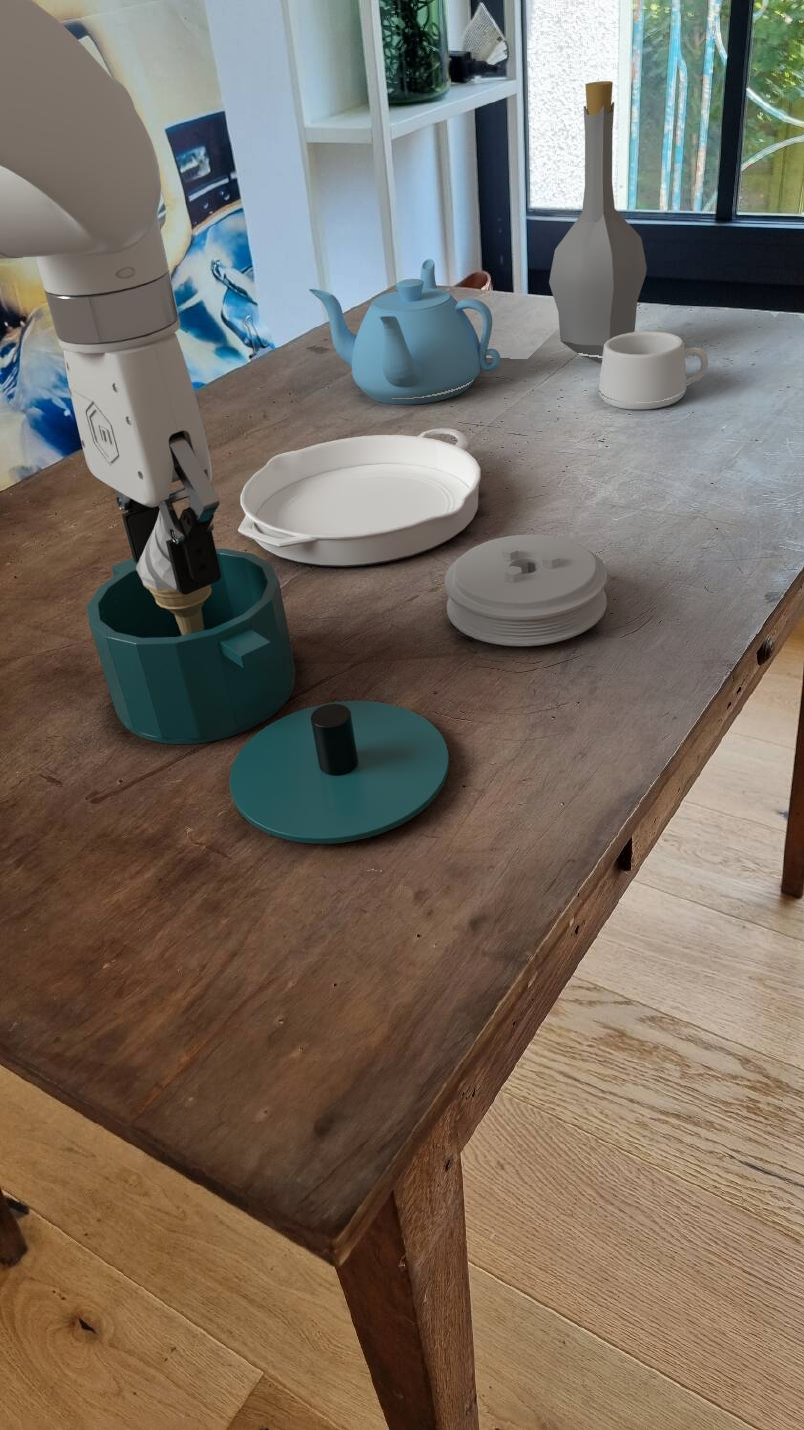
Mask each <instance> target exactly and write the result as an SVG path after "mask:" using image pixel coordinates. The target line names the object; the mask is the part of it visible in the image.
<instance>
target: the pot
mask: <svg viewBox="0 0 804 1430" xmlns="http://www.w3.org/2000/svg"><path fill="white" fill-rule="evenodd" d="M216 553H217V558H218V562H219V567H220V571H221V578H220V580H219V581H217V582H215V583H212V584H211V589H212V590H211V594H210V595H209V597H208V598H207V599H206V600H205V601H204V603H203V605H202V608H201V611H202V618H203V625H204V631H200V632H196V633H191V634H187V635H183V636H182V634H181V631H180V629H179V626H178V623H177V620H176V617H175V615H174V614H173V613H172V612H171V611H169V610H168V609H166V608H163V607H161V606H159V605H158V604H157V603H156V600H155V598H154V596H153V594H152V593H151V592H150V590H149V589H147V588H146V587H145V586H144V585H143V582H142V580H141V578H140V576H139V574H138V572H137V570H136V567H137V563H135V562H134V559H133V557H131V558H129V559H125V560H124V561H121V562H118V563H116V564H114V565H111V572H112V574H113V577H111V578H110V579H109V580H107V581H106V582H104V583H103V584H101V585H100V586H99V587H98V589H97V590H96V592H95V593H94V594H93V596H92V598H91V599H90V600H89V602H88V604H87V606H86V609H87V619H88V625H89V628H90V631H91V634H92V638H93V642H94V644H95V648H96V651H97V654H98V658H99V661H100V665H101V668H102V670H103V674H104V677H105V680H106V685H107V688H108V691H109V694H110V697H111V700H112V704H113V707H114V710H115V714H116V716H117V717H118V718H119V721H120V722H121V724H122V725H123V726H124V728H126V729H127V730H128V731H130V732H131V733H132V734H133V735H136V736H138V737H140V738H141V739H144V740H147V741H150V742H155V743H160V744H168V745H196V744H202V743H203V744H205V743H210V742H214V741H219V740H222V739H227V738H230V737H234V736H236V735H239V734H242V733H244V732H246V731H249V730H250V729H253V728H255V727H256V726H258V725H260V724H262V723H263V722H265V721H267V720H268V719H270V718H271V717H272V716H274V715H275V714H276V713H277V712H279V710H280V709H282V708H283V706H284V705H285V704H286V703H287V701H288V700H289V699H290V697H291V695H292V694H293V691H294V689H295V685H296V673H297V671H296V666H295V660H294V655H293V648H292V644H291V638H290V633H289V632H290V631H289V627H288V622H287V617H286V609H285V605H284V600H283V595H282V589H281V584H280V579H279V577H278V574H277V572H276V570H275V567H274V566H273V564H272V563H270V562H268V561H267V560H265V559H263V558H262V557H259V556H258V555H256V554H255V553H251V552H247V551H242V550H234V549H229V548H216Z"/></svg>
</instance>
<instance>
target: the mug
mask: <svg viewBox="0 0 804 1430" xmlns="http://www.w3.org/2000/svg"><path fill="white" fill-rule="evenodd" d="M688 356H696V357H697V358H698V359H699V360H700V368H699V371H698V372H697V373H696V374H694V375H692V376H691V377H687V368H686V357H688ZM708 366H709V358H708V355H707V353H706V352H705V351H704V350H703V349H701V348H698V347H685V341H684V340H683V338H681V337H680V336H678V335H676V334H673V333H669V332H666V331H665V332H664V331H656V330H654V331H653V330H652V331H651V330H644V331H634V332H632V333H626V334H622V335H619V336H616V337H613V338H611V339H610V340H608V341H607V342H606V343H605V344H604V349H603V358H602V360H601V366H600V367H601V368H600V373H599V374H600V375H599V383H598V394H599V396H600V398H601V399H602V401H604V403H606V404H608V405H609V406H612V407H615V408H620V409H626V410H651V409H652V410H653V409H658V408H659V409H660V408H664V407H668V406H670V405H673V404H675V403H677V402H678V401H680V400H681V399H682V398H683V396H685V394H686V392H687V388H686V387H687V386H688V385H687V384H689V383H693V384H696V383H697V382H699V381H700V380H702V378H703V377H704V376H705V375H706V373H707V371H708V368H709V367H708ZM685 388H686V390H685ZM599 390H600V391H601V393H602V394H604V395H605V396H607V397H609V398H612V399H615V400H619V401H624V402H635V403H624V402H618V401H614V400H610V399H607V398H606V397H604V396H602V395H601V393H600V392H599ZM683 390H685V391H684V392H683V393H682V394H680V395H679V396H677V397H674V398H672V399H669V400H664V399H667V398H670V397H673V396H675V395H677V394H679V393H681V392H682V391H683ZM660 400H664V401H660ZM651 401H652V402H653V403H636V402H651ZM654 401H660V402H654Z"/></svg>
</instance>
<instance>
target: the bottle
mask: <svg viewBox="0 0 804 1430" xmlns="http://www.w3.org/2000/svg"><path fill="white" fill-rule="evenodd" d="M613 83H614V82H613V81H611V80H602V81H592V82H587V83H586V84H585V101H586V102H585V103H586V105H583V122H584V123H583V125H584V188H583V189H584V190H583V199H582V200H583V201H582V208H581V209H582V210H581V214H580V215H579V217H578V218H577V219H576V220H575V222H574V223H573V225H572V226H571V227H570V229H569V230H568V232H567V233H566V234H565V235H564V237H563V238H562V240H560V242H559V243H558V245H557V247H556V248H555V249H554V252H553V259H552V263H551V269H550V274H549V279H548V284H549V287H550V290H551V293H552V296H553V300H554V303H555V306H556V309H557V313H558V314H557V315H558V326H559V327H558V328H559V339H560V340H559V341H560V343H562V344H563V345H565V346H566V347H568V348H569V349H570V350H572V351H573V352H575V353H576V354H578V353H583V354H588V355H599V356H603V349H604V344H605V343H606V342H607V341H608V340H610V339H611V338H613V337H616V336H619V335H622V334H626V333H632V332H636V321H637V308H638V300H639V297H640V294H641V291H642V287H643V284H644V281H645V278H646V276H647V271H648V270H647V269H648V267H647V263H646V256H645V255H646V254H645V251H644V245H643V238H642V237H641V236H640V234H639V233H638V232H637V231H636V230H635V229H634V227H632V226H631V224H630V223H629V222H628V221H627V220H626V219H625V218H624V217H623V216H622V215H621V213H620V212H619V211H618V210H617V209H616V208H615V207H616V206H615V195H614V186H613V185H614V184H613V135H614V134H613V133H614V131H613V129H614V116H615V115H614V113H615V102H614V101H613V102H612V99H613V87H614V86H613V85H614V84H613ZM581 357H582V358H584V359H588V360H590V361H594V362H598V363H599V362H600V361H602V358H598V357H589V356H581Z"/></svg>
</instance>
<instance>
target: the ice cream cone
mask: <svg viewBox="0 0 804 1430" xmlns="http://www.w3.org/2000/svg"><path fill="white" fill-rule="evenodd" d="M170 539H171V537H170V535H169V532H168V529H167V527H166V524H165V522H164V519H163V517H162V514H161V511H159V515H158V518H157V521H156V524H155V527H154V529H153V531H152V533H151V535H150V537H149V539H148V542H147V544H146V546H145V549H144V551H143V553H142V556H141V557H140V560H139V562H138V564H137V567H136V570H137V572H138V574H139V576H140V578H141V580H142V582H143V585H144V586H145V587H146V588H147V589H149V590H150V592H151V593H152V594H153V596H154V598H155V600H156V603H157V604H158V605H159V606H161V607H163V608H166V609H168V610H169V611H171V612H172V613H173V614H174V615H175V617H176V620H177V623H178V626H179V629H180V631H181V634H182V636H183V635H187V634H191V633H196V632H200V631H204V625H203V618H202V611H201V608H202V605H203V603H204V601H205V600H206V599H207V598H208V597H209V595H210V594H211V590H212V589H211V584H210V585H208V586H206V587H203V588H201V589H199V590H196V591H194V592H192V593H189V594H187V595H184V594H182V593H180V592H179V591H178V590H177V586H176V582H175V578H174V574H173V569H172V565H171V561H170V557H169V553H168V549H167V545H166V541H168V540H170Z"/></svg>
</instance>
